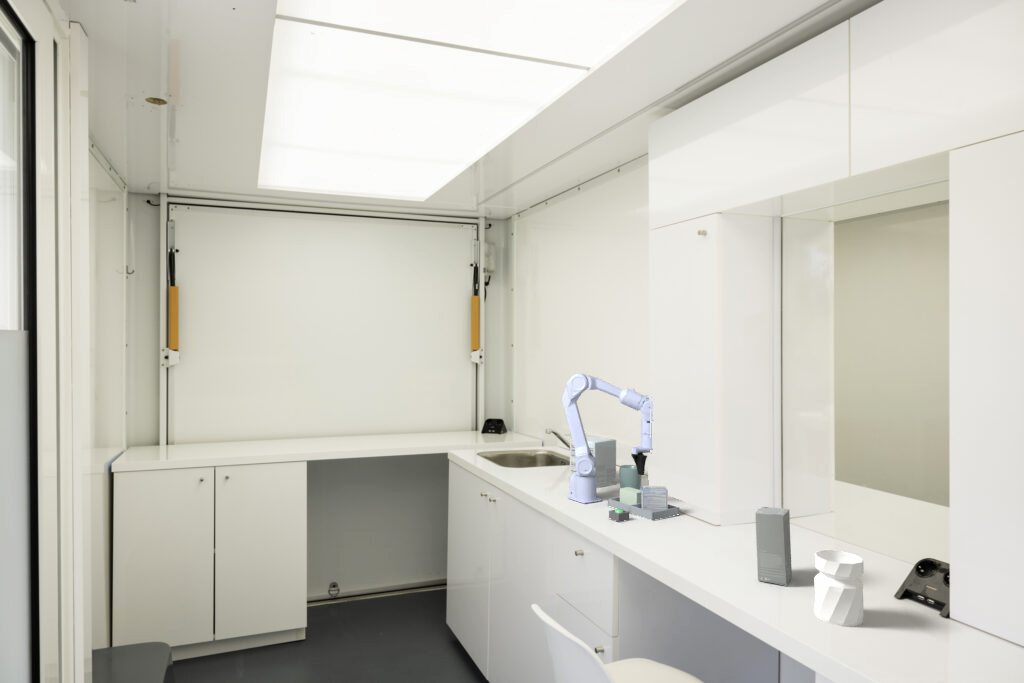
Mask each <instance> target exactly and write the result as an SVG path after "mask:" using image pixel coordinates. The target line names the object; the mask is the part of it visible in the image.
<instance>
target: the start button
mask: <svg viewBox="0 0 1024 683" xmlns="http://www.w3.org/2000/svg"><path fill="white" fill-rule="evenodd" d="M614 510H615V512H617V513H623V509H615V508H614Z"/></svg>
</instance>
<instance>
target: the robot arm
mask: <svg viewBox="0 0 1024 683" xmlns="http://www.w3.org/2000/svg"><path fill="white" fill-rule="evenodd" d="M565 386H566V387H565V389H564V392H563V394H562V398H561V402H562V405H563V409H564V413H565V416H566V420H567V424H568V427H569V432H570V434H571V435H570V436H571V439H572V440H573V443H574V447H575V455H576V470H577V472H576V473H574V474H572V476H571V478H570V477H569V496H567V499H569V500H572V501H575V502H578V503H581V504H591V503H597V501H598V502H602V500H603V499H601V498H599V497H597V488H596V473H595V471H594V468H595V466H596V459H595V457H594V456H593V455H592V453H591V450H590V448H589V446H588V443H587V439H586V437H587V435H586V433H585V428H584V424H583V421H582V418H581V413H580V410H579V406H578V402H577V401H578V400H579V398H580V397H581V395H582V394H583V393H584V392H585V391H586V390H588V391H594V390H598V391H600V392H603V393H606V394H607V395H608V394H609V395H610V396H613V397H615V398H617V399H618V401H619V402H620V403H621V404H622V405H623V406H626V407H628V408H631V409H633V410H635V411H640V412H641V419H640V445H639V446H635V447H631V457H632V459H633V461H634V464H635V465H636V467H637V471H638V474H639V475H641V476H644V475H645V472H646V470H645V469H646V468H645V467H646V461H647V458H648V455H646V454H647V453H651V452H650V450H653V448H652V423H651V438H650V437H649V436H650V409H651V421H654V420H653V418H652V417H653V414H652V413H653V411H652V410H653V406H654V405H653V401H651V403H650V399H649V397H648V396H649V395H648V394H644V395H643V394H642V393H640V392H637V391H635V388H633V387H631V388H629V387H628V388H627V387H626V388H624V389H621V388H619V387H618V386H615V385H613V384H611V383H608V382H607V381H605V380H603V379H601V378H599V377H595V376H593V375H587V373H583V372H579V373H575V374H574V375H572V376H570V379H569V380H568V381H567V382H566V385H565Z"/></svg>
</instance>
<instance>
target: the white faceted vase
mask: <svg viewBox="0 0 1024 683" xmlns="http://www.w3.org/2000/svg"><path fill="white" fill-rule="evenodd" d="M814 563H815V565H814V568H815V569H816V570H817V571H818V573H817V574H816V575H815V576H814V578H813V580H814V581H813V582H814V583H813V585H814V587H813V588H814V604H813V614H814V615H815V617H816V618H817V619H818V620H821V621H823V622H825V623H827V624H830V625H836V626H840V627H857V626H859V625H862V624H863V622H864V591H863V590H864V584H863V582H862V581H861V580H860V579H859V577H861V576H862V575H863V574H864V572H865V570H864V568H865V566H864V558H862V556H859V555H857V554H855V553H851V552H849V551H848V552H847V551H844V550H843V551H842V550H835V549H819V550H817V551H815V552H814Z"/></svg>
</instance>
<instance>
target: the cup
mask: <svg viewBox="0 0 1024 683" xmlns="http://www.w3.org/2000/svg"><path fill="white" fill-rule="evenodd" d="M618 470H619V471H618V472H619V477H618V478H619V479H618V480H619V489H620V488H625V487H631V488H634V489H638V490H641V487H642V475H639V474H638V471H637V467H636V464H635V465H634V464H622V465H620V466H619V469H618Z"/></svg>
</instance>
